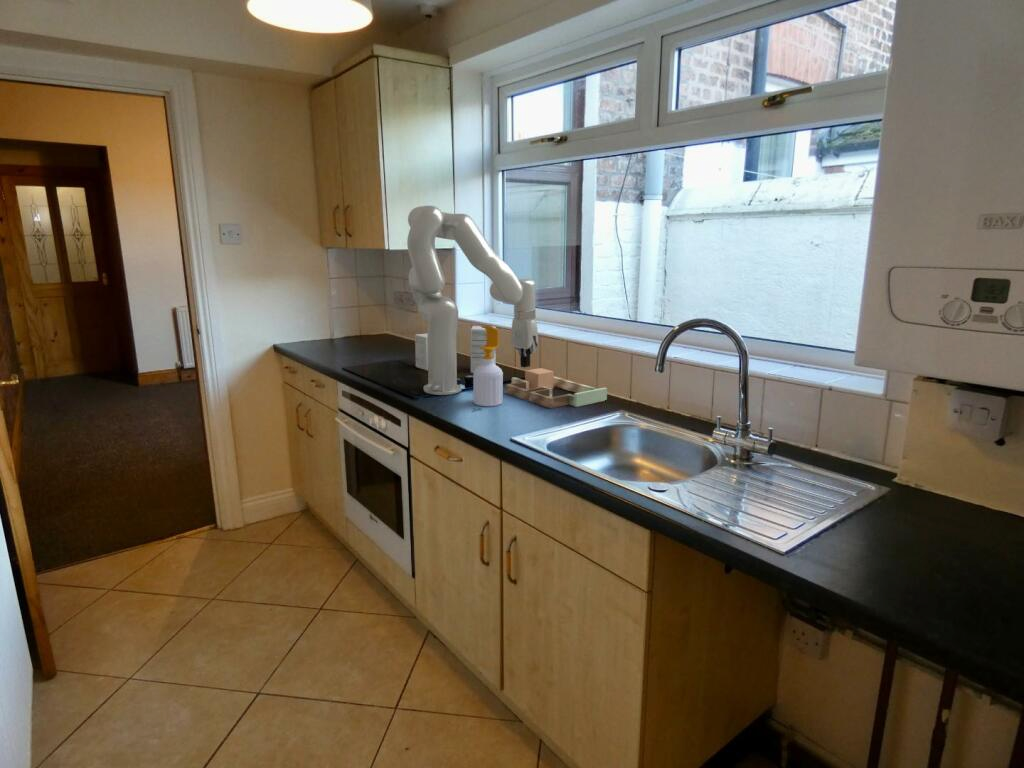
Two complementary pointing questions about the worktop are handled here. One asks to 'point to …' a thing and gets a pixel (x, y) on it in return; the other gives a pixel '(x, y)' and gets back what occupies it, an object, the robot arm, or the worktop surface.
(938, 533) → the worktop surface
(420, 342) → the small box
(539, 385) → the block
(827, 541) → the worktop surface
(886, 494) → the worktop surface
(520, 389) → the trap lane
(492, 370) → the soap bottle
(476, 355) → the supplement box
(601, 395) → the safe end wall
